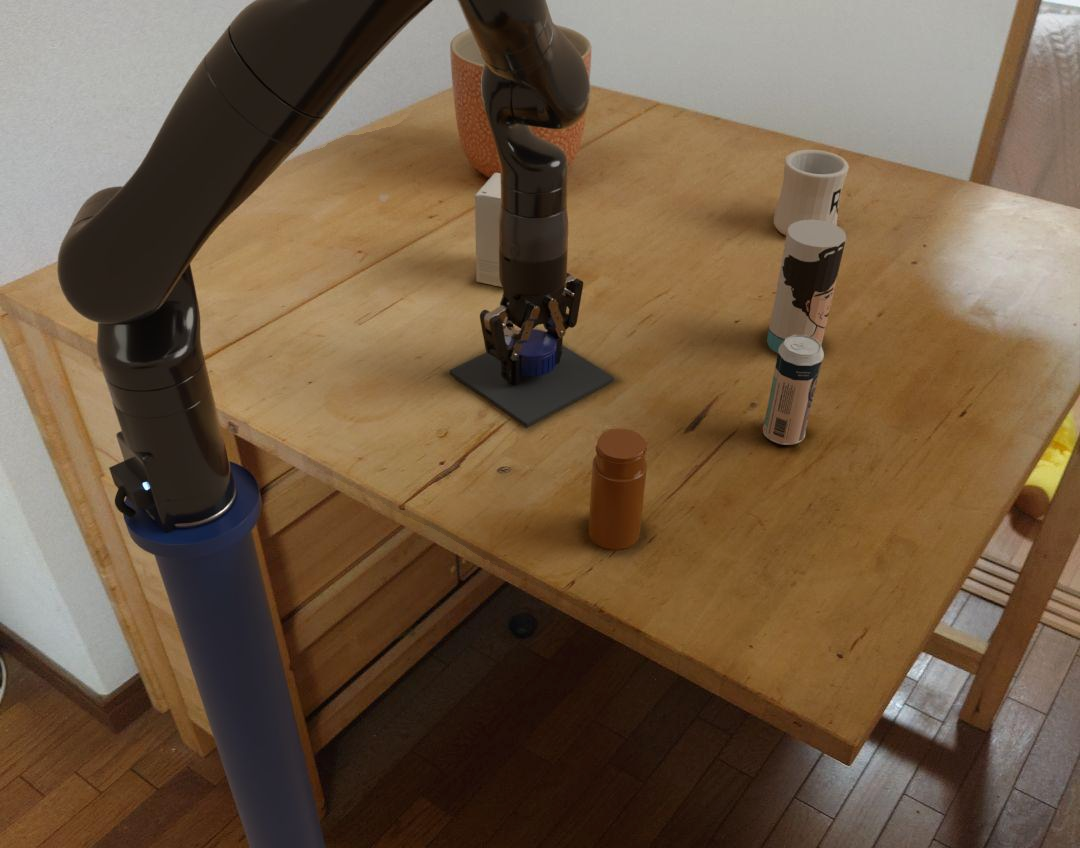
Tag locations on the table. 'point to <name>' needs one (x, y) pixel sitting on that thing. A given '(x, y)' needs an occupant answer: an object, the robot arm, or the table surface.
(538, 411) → the mat
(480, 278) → the white packaging box
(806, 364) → the beer can
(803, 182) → the mug
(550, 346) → the jar lid
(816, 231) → the white cylindrical canister
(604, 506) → the jar
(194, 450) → the robot arm
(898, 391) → the table surface
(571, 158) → the planter
